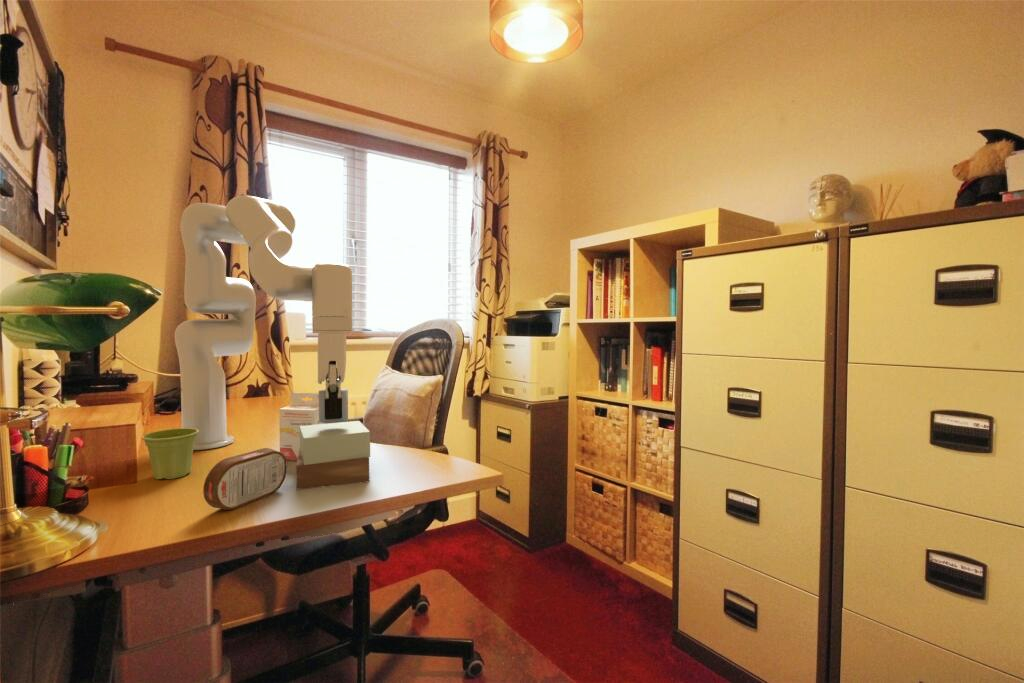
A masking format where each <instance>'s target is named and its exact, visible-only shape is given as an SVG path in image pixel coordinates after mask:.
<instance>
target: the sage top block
mask: <svg viewBox="0 0 1024 683" xmlns="http://www.w3.org/2000/svg"><path fill="white" fill-rule="evenodd" d="M300 452H301V455H302V459H303V462H304V465H308V464H316V463H324V462H332V461H341V460H349V459H357V458H365V457H369V458H371V431H370V430H369V428H367V427H366V426H365V425H364V424H363V422H361V421H360V420H354V421H344V422H339V423H324V424H317V425H306V426H300Z"/></svg>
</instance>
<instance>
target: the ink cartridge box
mask: <svg viewBox="0 0 1024 683" xmlns="http://www.w3.org/2000/svg"><path fill="white" fill-rule="evenodd" d="M306 397H307V398H308V399H312V400H307V399H306V400H304V399H305V398H306ZM317 424H325V423H321V422H319V392H318V393H317V392H316V393H313V392H291V393H290V405H287V406H285V407H281V408H279V452H281V453H282V454H283V455H284V456H285V458H286V460H287V461H295V460H296V462H297V460H298V455H299V450H300V426H306V425H317Z"/></svg>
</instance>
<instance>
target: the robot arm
mask: <svg viewBox="0 0 1024 683" xmlns="http://www.w3.org/2000/svg"><path fill="white" fill-rule="evenodd" d="M179 226H180V234H181V238H182V244H183V247H184V253H185V263H184V264H185V265H184V268H185V270H184V288H183V291H184V292H183V293H184V296H183V298H184V305H185V306H186V308H187V310H188V311H190V312H193V313H196V314H203V315H205V314H206V315H227V317H228V318H227V319H226V318H225V319H224V318H223V319H222V318H220V319H219V318H194V319H187V320H185V321H183V322H181V323H179V324H178V325H177V326H176V329H175V331H174V335H173V336H174V342H175V347H176V351H177V356H178V362H179V371H180V372H179V373H180V374H179V375H180V376H179V378H180V399H181V400H180V403H181V404H180V405H181V408H180V409H181V428H194V429H198V430H199V432H198V433H197V434H196V439H195V441H194V447H193V451H200V450H203V451H204V450H210V449H217V448H221V447H224V446H228V445H230V444H232V443H233V442H234V441H235V439H234V438H235V437H234V436H233V435H231V434H227V431H228V430H227V429H228V428H227V393H226V392H227V390H226V389H227V388H226V386H227V385H226V384H227V383H226V382H227V381H226V373H225V370H224V369H223V366H221V364H220V363H219V362H218V360H217V359H216V357H227V356H240V355H245V354H246V353H248V352H249V351H250V350H251V348H252V346H253V343H254V339H255V338H254V337H255V335H254V334H255V325H256V309H257V306H256V305H257V297H256V292H255V289H254V287H253V286H252V284H251V283H250V282H249V281H248V280H246V279H245V278H240V277H239V278H238V277H232V276H231V277H229V276H227V258H226V255H225V253H224V251H223V250H222V248H221V246H220V245H219V244H218V243H217V242H221V243H222V242H223V243H226V244H227V243H228V244H235V245H242V246H248V247H249V248H250V250H249V253H248V268H249V272H250V275H251V277H252V278H253V280H254V281H255V282H256V283H257V285H258V286H259V288H261V290H263V292H264V293H266V294H267V295H268V296H270V297H271V298H273V299H275V300H281V301H303V302H311V304H312V306H311V312H312V313H311V315H312V324H311V325H312V334H318V336H317V383H318V384H319V385H322V383H323V382H325V389H326V399H325V419H326V420H328V419H341V418H342V398H341V389H342V388H341V385H342V384H343V383H345V375H346V368H347V367H346V365H347V334H353V332H354V331H353V271H352V269H351V267H350V266H349V265H347V264H344V263H336V262H320V263H316V264H314V265H313V264H306V263H299V262H298V263H297V262H289V261H282V260H280V259H281V258H283V257H284V256H285V255H287V254H288V253H289V252H290V250H291V248H292V245H293V236H292V234H293V233H294V231H295V228H296V218H295V214H294V212H293V210H291V208H290V207H289V206H287V205H286V204H284V203H282V202H278V201H274V200H270V199H266V198H261V197H258V196H253V195H246V194H245V195H238V196H235V197H233V198H231V199H230V200H229V201H228V203H227V204H226V205H222V204H217V203H211V202H208V203H207V202H195V203H191V204H190V205H187V206H186V207H185V209H184V211H183V212H182V215H181V218H180V224H179Z"/></svg>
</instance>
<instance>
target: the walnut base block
mask: <svg viewBox="0 0 1024 683" xmlns="http://www.w3.org/2000/svg"><path fill="white" fill-rule="evenodd" d="M295 469H296V471H295V472H296V473H295V474H296V475H295V476H296V490H297V491H299V490H305V489H315V488H323V487H322V486H325V487H331V485H334V486H341V485H343V486H344V485H350V484H351V485H352V484H359V483H360V482H362V483H368V482H367V481H369V482H370V457H365V458H357V459H349V460H341V461H332V462H324V463H316V464H308V465H304V462H303V459H302V455H301V452H300V450H299V455H298V460H297V461H296V467H295Z"/></svg>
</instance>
